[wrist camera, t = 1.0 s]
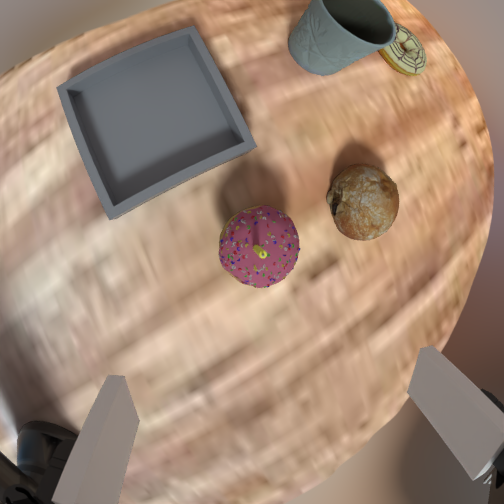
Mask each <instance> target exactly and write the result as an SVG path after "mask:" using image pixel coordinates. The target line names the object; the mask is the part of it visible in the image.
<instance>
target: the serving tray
mask: <svg viewBox="0 0 504 504" xmlns="http://www.w3.org/2000/svg"><path fill="white" fill-rule="evenodd" d="M57 91H58V94H59V97H60V100H61V103H62V106H63V109H64V112H65V115H66V118H67V121H68V123H69V126H70V129H71V132H72V134H73V137H74V140H75V142H76V145H77V147H78V150H79V153H80V155H81V158H82V160H83V162H84V165H85V167H86V170H87V172H88V174H89V177H90V179H91V181H92V184H93V186H94V188H95V190H96V193H97V195H98V197H99V199H100V201H101V203H102V206H103V208H104V210H105V212H106V214H107V216H108V218H109V220H113V219H117V218H119V217H120V216H122V215H124V214H126V213H127V212H129V211H131V210H133V209H134V208H136V207H138V206H140V205H142V204H144V203H145V202H147V201H149V200H151V199H153V198H155V197H157V196H159V195H160V194H162V193H164V192H166V191H168V190H170V189H172V188H174V187H176V186H178V185H180V184H182V183H184V182H186V181H188V180H190V179H192V178H194V177H196V176H198V175H200V174H202V173H204V172H207V171H209V170H211V169H213V168H215V167H217V166H219V165H222V164H224V163H226V162H228V161H230V160H233V159H235V158H237V157H239V156H242V155H244V154H246V153H248V152H250V151H251V150H253V149H254V148H256V147H257V145H256V143H255V141H254V139H253V137H252V135H251V133H250V131H249V129H248V127H247V125H246V123H245V121H244V119H243V117H242V115H241V113H240V111H239V109H238V107H237V105H236V103H235V101H234V99H233V97H232V95H231V93H230V91H229V89H228V87H227V85H226V83H225V81H224V79H223V77H222V76H221V74H220V72H219V70H218V68H217V66H216V64H215V62H214V60H213V59H212V57H211V55H210V53H209V51H208V49H207V47H206V46H205V44H204V42H203V40H202V38H201V37H200V35H199V33H198V31H197V29H196V28H195V26H190V27H187V28H184V29H181V30H178V31H175V32H172V33H169V34H166V35H163V36H161V37H158V38H155V39H153V40H150V41H147V42H145V43H142V44H140V45H138V46H135V47H133V48H131V49H128V50H126V51H124V52H121V53H119V54H117V55H115V56H113V57H111V58H109V59H107V60H105V61H103V62H101V63H99V64H97V65H95V66H93V67H91V68H89V69H87V70H85V71H84V72H82V73H80V74H78V75H76V76H75V77H73V78H71V79H69V80H68V81H66V82H64V83H63V84H61V85H60V86H58V87H57Z"/></svg>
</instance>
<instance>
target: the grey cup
mask: <svg viewBox="0 0 504 504" xmlns="http://www.w3.org/2000/svg"><path fill="white" fill-rule="evenodd" d="M308 7H309V8H308V9H307V10H305V12H304V14H303V15H302V17H301V19H300V21H299V22H298V25H297V26H296V27H295V28H294V30H293V32H292V33H291V35H290V37H289V41H288V47H289V51H290V53H291V55H292V57H293V59H294V60H295V61H296V62H297V63H298V64H299V65H300V66H301V67H302V68H304V69H305V70H307V71H309V72H310V73H313V74H317V75H321V76H324V75H331V74H334V73H336V72H338V71H340V70H341V69H342V68H345V67H347V66H348V65H350V64H351V63H354V61H357V60H359V59H361V58H362V57H365V56H367V55H369V54H371V53H373V52H375V51H377V50H380V49H382V48H384V47H386V46H388V45H390V44H392V43H393V41H394V40H395V36H396V27H395V23H394V21H393V18H392V16H391V14H390V13H389V11H388V10H387V8H386V7H385V6H384V4H383V3H382V2H381V1H380V0H312V1H311V2H310V4H309V5H308Z"/></svg>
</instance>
